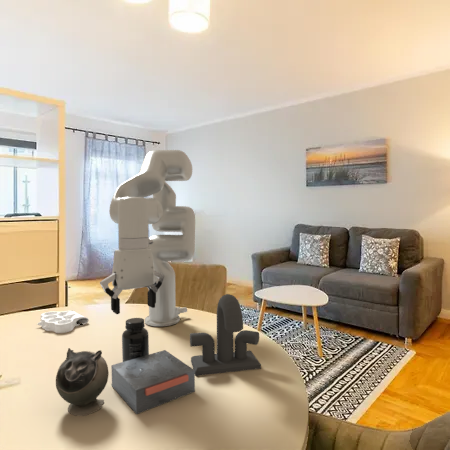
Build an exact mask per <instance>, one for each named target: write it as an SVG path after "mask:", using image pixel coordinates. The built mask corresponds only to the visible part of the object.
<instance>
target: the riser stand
mask: <svg viewBox="0 0 450 450" xmlns="http://www.w3.org/2000/svg"><path fill="white" fill-rule="evenodd" d="M195 377H196V376H195V370H194V369H193V367H190V365H188V364H186V363H185V362H183V360H180V359H179V358H177V357H176V356H175V355H173V354H172V353H170V352H169V351H167V350H166V349H164V350H160V351H157V352H153V353H149V355H146V356H142V357H139V358H135V359H132V360H128V361H125V362H123V361H122V362H117V363H115V364H111V387H112V388H113V389H114V390H115V392H116V393H117V394H118V395H119V396H120V397H121V398H122V400H123V401H124V402H125V403H126V404H127V406H129V408H131V410H132V411H133V412H134V413H135V415H138V414H140V413H143V412H146V411H148V410H151V409H153V408H157V407H158V406H161V405H163V404H164V405H165V404H166V403H169V402H172V401H174V400H177V399H179V398H181V397H182V398H183V397H184V396H187V395H190V394H192V393H194V392H195V391H196V386H195V384H196V383H195V381H196V380H195V379H196V378H195Z"/></svg>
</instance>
